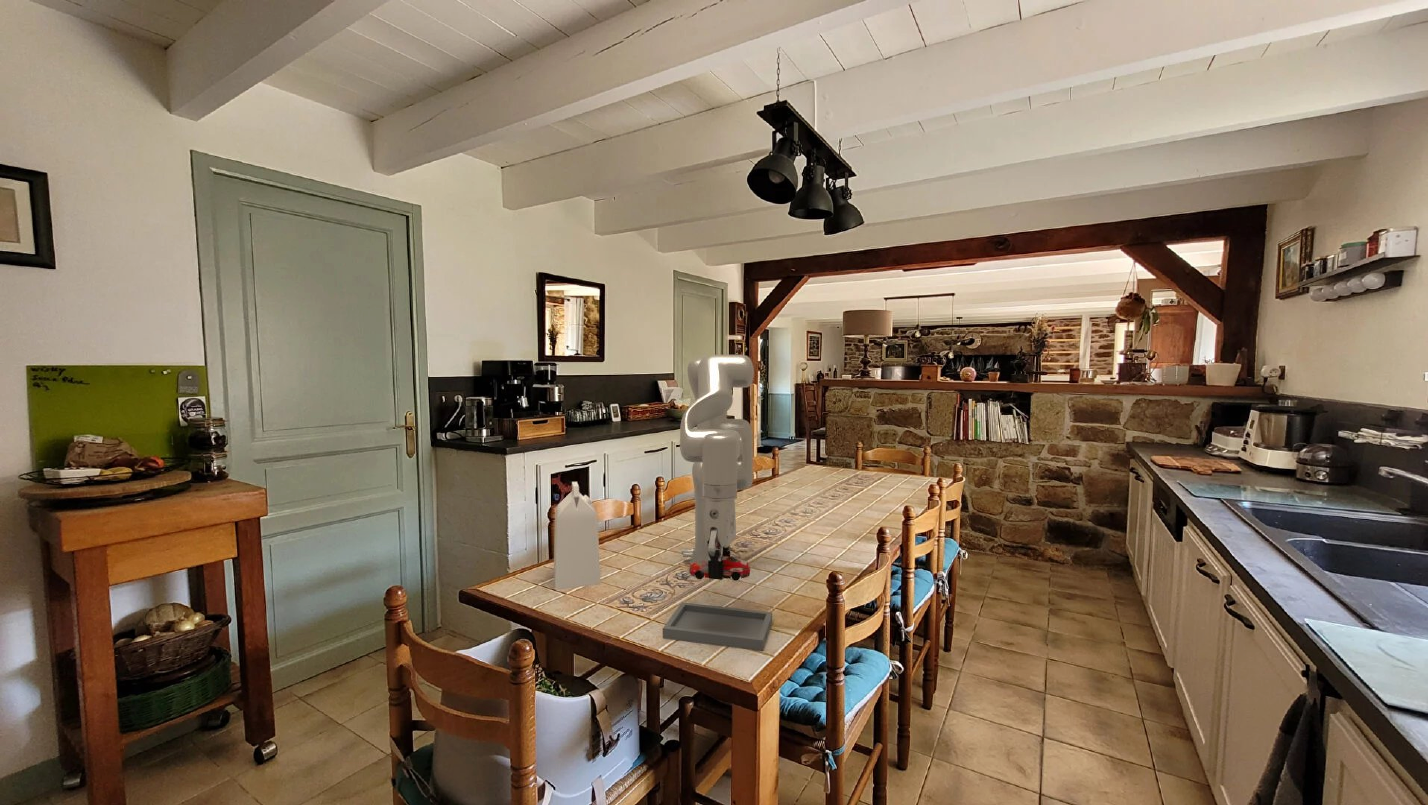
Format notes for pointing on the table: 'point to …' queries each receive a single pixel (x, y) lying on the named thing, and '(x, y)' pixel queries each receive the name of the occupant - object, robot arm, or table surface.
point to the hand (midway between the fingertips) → (719, 572)
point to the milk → (576, 542)
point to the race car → (731, 568)
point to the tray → (719, 626)
